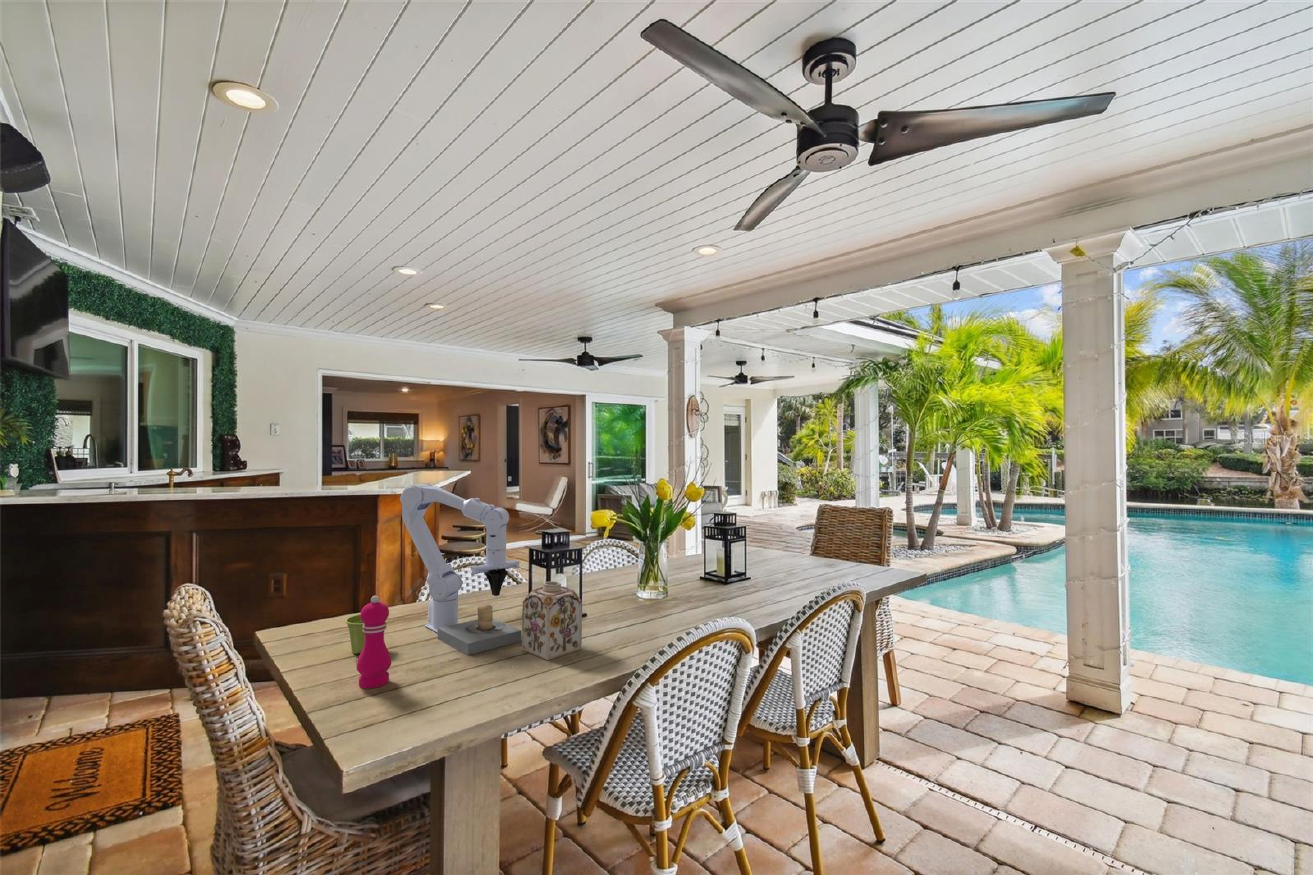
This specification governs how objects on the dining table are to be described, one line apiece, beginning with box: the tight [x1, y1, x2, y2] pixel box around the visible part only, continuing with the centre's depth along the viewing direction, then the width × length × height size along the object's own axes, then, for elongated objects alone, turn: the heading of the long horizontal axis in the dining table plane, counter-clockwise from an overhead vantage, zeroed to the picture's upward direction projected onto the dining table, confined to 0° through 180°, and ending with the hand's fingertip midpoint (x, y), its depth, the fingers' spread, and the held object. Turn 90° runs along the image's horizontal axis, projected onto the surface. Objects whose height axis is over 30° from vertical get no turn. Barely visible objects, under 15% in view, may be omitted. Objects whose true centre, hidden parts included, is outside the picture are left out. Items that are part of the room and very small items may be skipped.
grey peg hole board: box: [437, 618, 522, 656], centre depth 166 cm, size 18×16×3 cm
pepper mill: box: [356, 595, 392, 689], centre depth 135 cm, size 7×7×20 cm
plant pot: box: [345, 613, 365, 655], centre depth 157 cm, size 9×9×9 cm
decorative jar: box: [521, 580, 583, 661], centre depth 158 cm, size 12×12×18 cm
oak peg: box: [477, 604, 494, 631], centre depth 166 cm, size 4×4×9 cm
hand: (495, 595), depth 175 cm, fingers closed
